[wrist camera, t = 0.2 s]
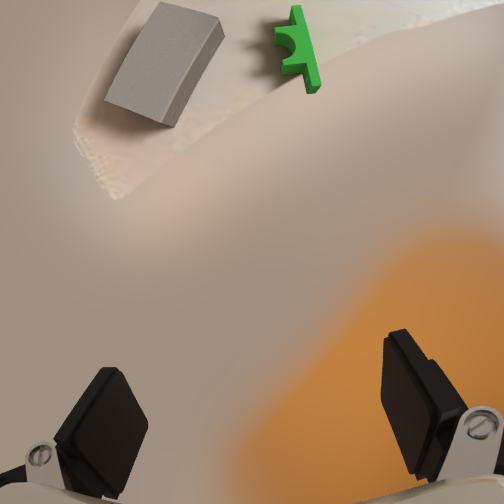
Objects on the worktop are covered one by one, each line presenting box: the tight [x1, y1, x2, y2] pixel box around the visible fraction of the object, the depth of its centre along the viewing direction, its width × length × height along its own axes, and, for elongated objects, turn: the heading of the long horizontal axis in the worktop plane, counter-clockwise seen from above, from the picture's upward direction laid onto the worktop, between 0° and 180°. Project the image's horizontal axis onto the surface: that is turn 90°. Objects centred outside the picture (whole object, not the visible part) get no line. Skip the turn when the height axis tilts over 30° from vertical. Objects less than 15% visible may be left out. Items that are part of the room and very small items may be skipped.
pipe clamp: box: [274, 5, 321, 94], centre depth 31 cm, size 11×4×5 cm, turn 10°
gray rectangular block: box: [104, 2, 225, 127], centre depth 31 cm, size 14×8×6 cm, turn 153°
